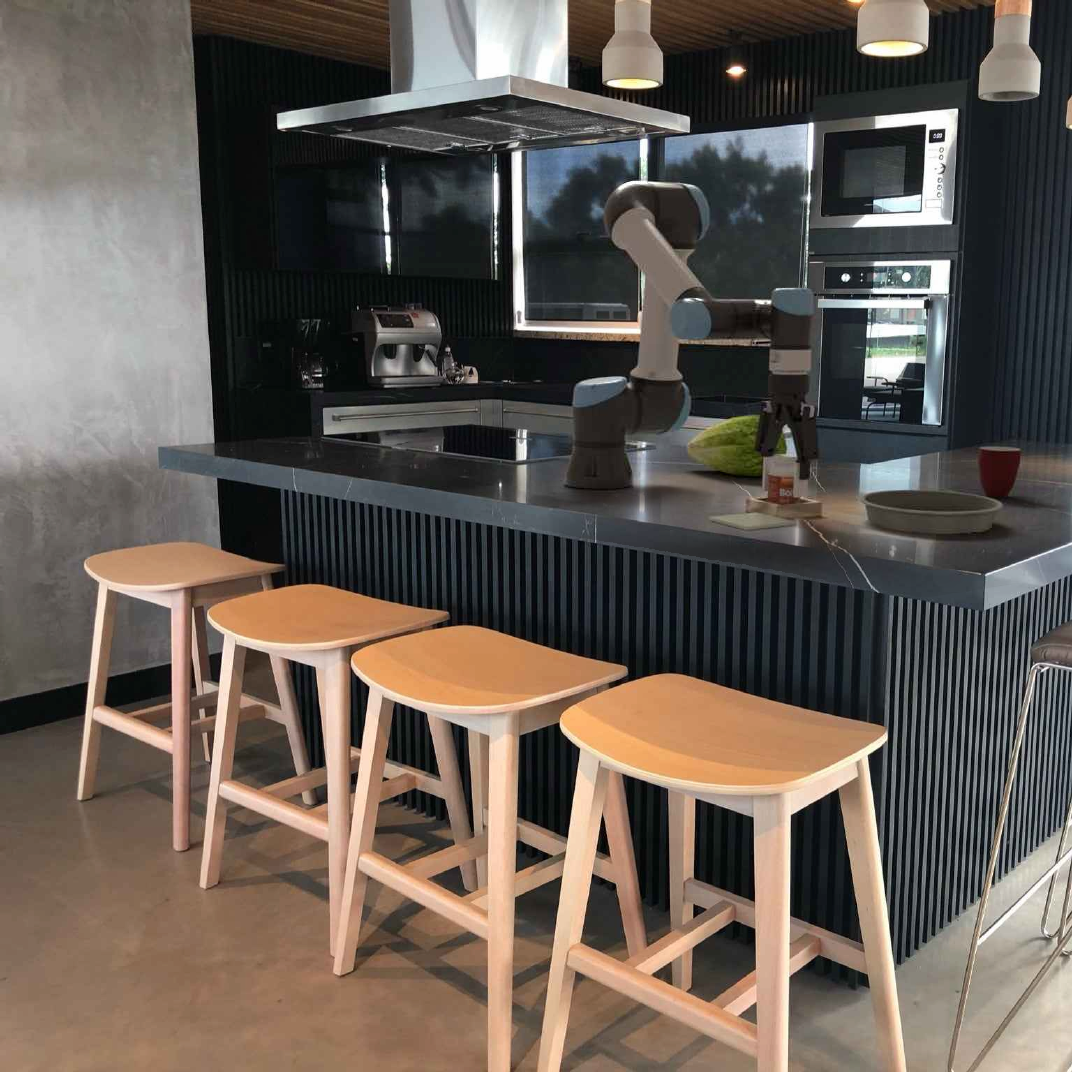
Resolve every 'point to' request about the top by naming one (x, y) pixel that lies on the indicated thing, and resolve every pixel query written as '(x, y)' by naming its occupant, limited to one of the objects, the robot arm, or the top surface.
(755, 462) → the lettuce
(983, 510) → the cake pan
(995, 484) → the mug
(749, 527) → the coaster
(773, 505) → the pocket frame
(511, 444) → the top surface
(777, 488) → the pill bottle
